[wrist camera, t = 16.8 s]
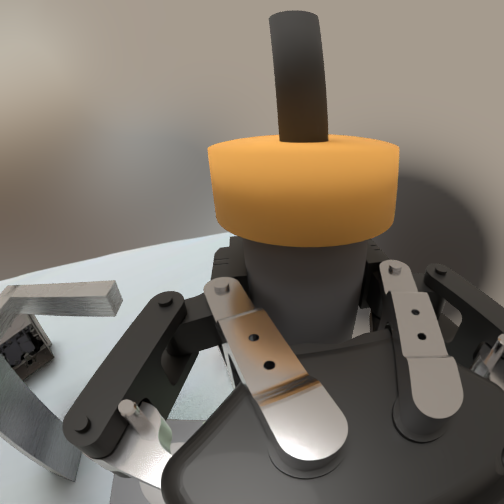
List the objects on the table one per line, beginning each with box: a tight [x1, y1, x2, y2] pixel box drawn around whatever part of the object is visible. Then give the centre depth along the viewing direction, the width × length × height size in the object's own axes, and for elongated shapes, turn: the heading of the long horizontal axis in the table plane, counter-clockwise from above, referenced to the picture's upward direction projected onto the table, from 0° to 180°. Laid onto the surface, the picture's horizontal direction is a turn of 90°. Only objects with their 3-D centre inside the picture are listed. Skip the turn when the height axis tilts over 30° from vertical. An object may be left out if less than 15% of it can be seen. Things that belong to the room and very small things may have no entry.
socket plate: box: [110, 419, 206, 504], centre depth 15 cm, size 12×12×1 cm
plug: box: [208, 11, 399, 345], centre depth 10 cm, size 6×6×16 cm
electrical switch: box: [0, 314, 54, 381], centre depth 23 cm, size 9×5×9 cm, turn 146°
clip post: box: [0, 354, 82, 482], centre depth 12 cm, size 5×3×13 cm
